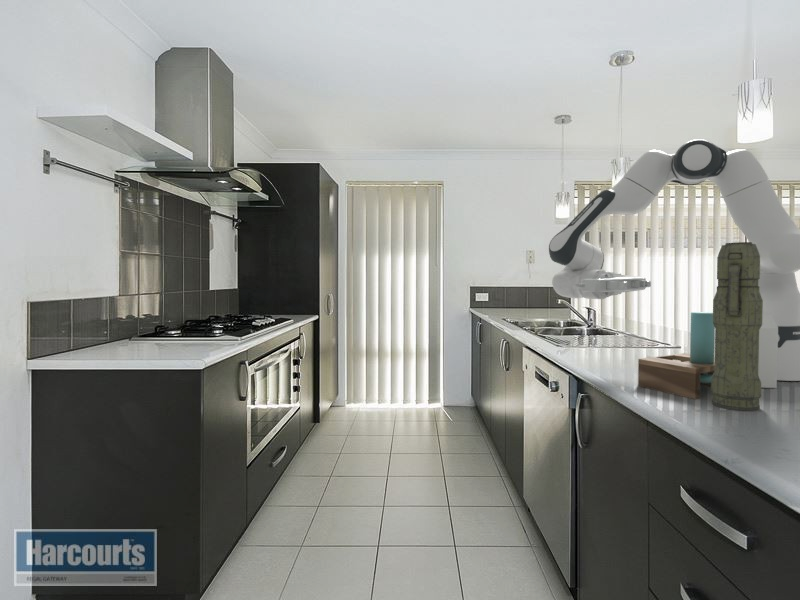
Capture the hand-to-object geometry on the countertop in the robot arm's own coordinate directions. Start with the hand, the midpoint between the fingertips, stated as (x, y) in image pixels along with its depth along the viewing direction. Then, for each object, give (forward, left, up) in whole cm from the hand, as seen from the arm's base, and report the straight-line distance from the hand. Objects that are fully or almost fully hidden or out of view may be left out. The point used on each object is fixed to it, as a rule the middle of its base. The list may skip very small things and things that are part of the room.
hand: (637, 284), depth 136 cm
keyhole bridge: (+5, +14, -26) cm, 30 cm away
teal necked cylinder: (+6, +17, -23) cm, 29 cm away
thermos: (+16, +26, -26) cm, 40 cm away
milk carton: (-9, +25, -26) cm, 37 cm away
